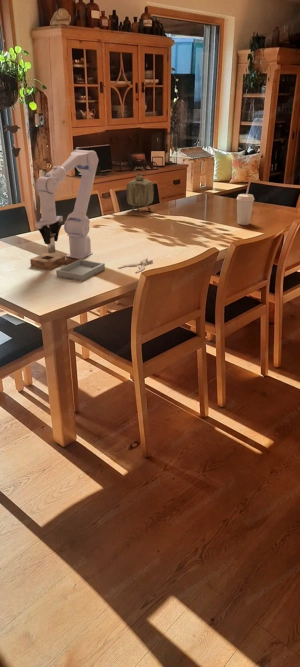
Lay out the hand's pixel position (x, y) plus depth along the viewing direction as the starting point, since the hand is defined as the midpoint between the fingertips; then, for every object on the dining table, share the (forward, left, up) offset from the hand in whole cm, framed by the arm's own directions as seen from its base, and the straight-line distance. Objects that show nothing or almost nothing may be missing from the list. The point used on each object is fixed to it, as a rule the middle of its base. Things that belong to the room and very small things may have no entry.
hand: (51, 242), depth 202 cm
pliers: (-17, +31, -10) cm, 37 cm away
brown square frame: (0, -3, -10) cm, 10 cm away
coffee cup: (-107, +46, -10) cm, 117 cm away
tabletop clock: (-107, -18, -10) cm, 109 cm away
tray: (+2, +15, -10) cm, 18 cm away
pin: (0, 0, -4) cm, 4 cm away
